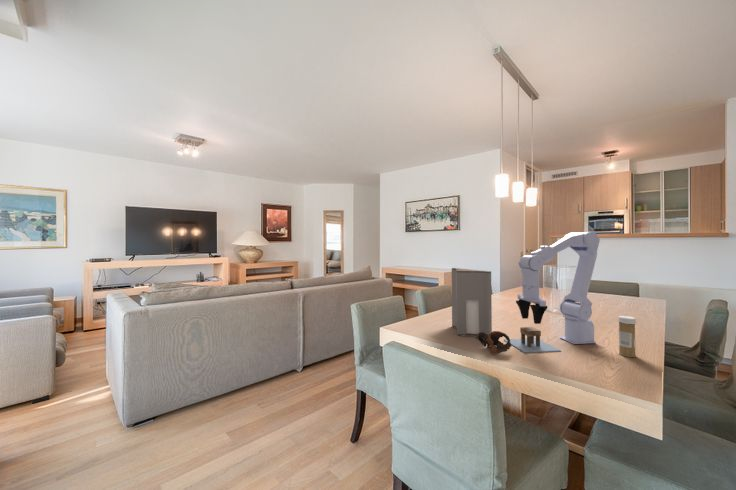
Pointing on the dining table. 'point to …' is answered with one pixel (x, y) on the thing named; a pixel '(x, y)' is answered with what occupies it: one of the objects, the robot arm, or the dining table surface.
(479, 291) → the cabinet
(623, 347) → the sprinkles bottle
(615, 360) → the dining table surface
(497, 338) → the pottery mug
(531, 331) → the walnut stool
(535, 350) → the felt mat
